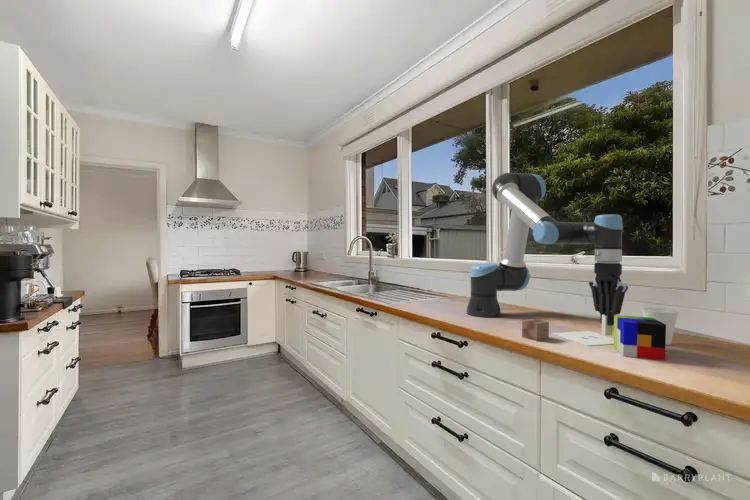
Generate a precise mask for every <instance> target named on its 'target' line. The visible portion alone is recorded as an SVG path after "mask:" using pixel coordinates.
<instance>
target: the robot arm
mask: <svg viewBox="0 0 750 500" xmlns="http://www.w3.org/2000/svg"><path fill="white" fill-rule="evenodd" d="M546 186H547V185H546V182H545V180H544V178H543V177H542V176H541V175H539V174H535V173H530V172H529V173H527V172H526V173H521V172H520V173H518V172H505V173H502V174H499V176H497V177H496V178H495V180H494V181H493V183H492V185H491V192H492V195H493V197H494V199H496V200H497V202H498V203H499V204H502V205H505V206H507V208H509V210H511V211H510V217H509V224H508V229H507V235H506V241H505V247H504V248H505V249H504V254H503V258H501V259H499V263H498V264H497V263H495V262H488V263H486V262H485V263H477V264H474V265H473V266H471V268H470V297H469V299H468V300H469V301H468V302H467V306H466V314H467V315H469V316H473V317H480V318H497V317H500V316H502V314H501V313H502V312H501V311H502V309H501V307H500V304H499V301H498V292H505V291H506V292H507V291H509V292H511V291H512V292H516V291H521V290H522V291H523V290H524V289H525V288H526V287H527V286H528V285H529V283H530V276H531V274H530V271H529V269H528V267H527V264H526V263H525V261H524V258H525V253H526V247H527V241H528V236H529V231H530V229H531V230H532V237H533V239H534V241H535V242H536V243H538V244H545V245H557V244H558V245H563V244H564V245H594V261H595V262H594V265H593V266H594V267H593V268H594V272H593V273H594V274H596V276H595V277H594V280H592V281H589V282H588V286H589V288H590V289H591V294H592V295H591V296H592V299H593V305H594V310H595V311H596V312H598V313H599V314H600V315H599V316H600V324H601V335H605V336H613V326H614V315H620V314H621V312H622V309H623V307H622V306H623V303H624V299H625V295H626V293H627V291H628V289H629V286H628V285H624V284H623V283H622V280H621V275H622V273H623V271H622V270H623V264H622V263H621V262H622V261H623V229H624V227H623V217H622V216H621V215H619V214H599V215H596V216H595V218H594V221H593V222H573V221H570V222H567V221H562V222H561V221H558V220H556V219H555V218H553V217H552V216H551V215H550V214H548V213H547V212H546V211H545V210H544V209H542V207H540V206H539V205H538V202H540V201H541V200H543V198H545V195H546V192H547V191H546V190H547V188H546Z"/></svg>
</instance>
